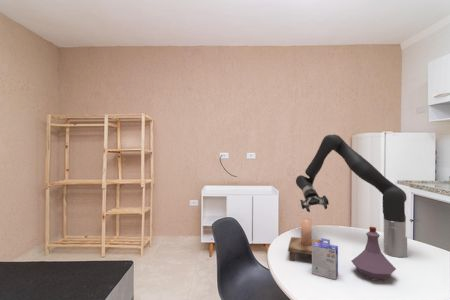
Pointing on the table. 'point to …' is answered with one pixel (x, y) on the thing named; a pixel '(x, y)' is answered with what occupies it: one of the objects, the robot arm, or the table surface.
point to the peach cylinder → (306, 232)
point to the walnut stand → (299, 247)
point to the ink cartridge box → (325, 259)
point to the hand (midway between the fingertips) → (317, 209)
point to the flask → (373, 259)
